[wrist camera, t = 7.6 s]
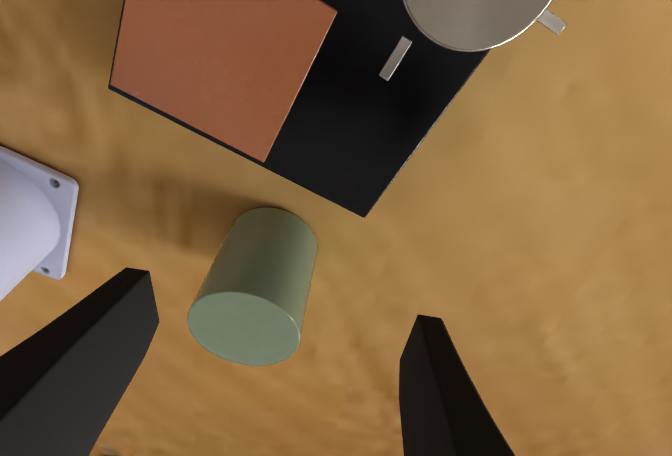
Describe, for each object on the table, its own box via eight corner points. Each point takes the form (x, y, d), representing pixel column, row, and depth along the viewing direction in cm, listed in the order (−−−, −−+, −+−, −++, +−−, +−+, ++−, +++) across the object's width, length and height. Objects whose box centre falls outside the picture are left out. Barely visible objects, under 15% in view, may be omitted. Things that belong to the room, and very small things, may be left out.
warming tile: (114, 81, 14) (109, 84, 14) (149, -109, 11) (144, -110, 11) (265, 159, 16) (263, 162, 16) (338, 10, 12) (337, 12, 12)
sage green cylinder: (218, 252, 22) (174, 340, 18) (248, 189, 20) (205, 274, 15) (295, 286, 24) (273, 378, 19) (333, 231, 21) (319, 322, 16)
